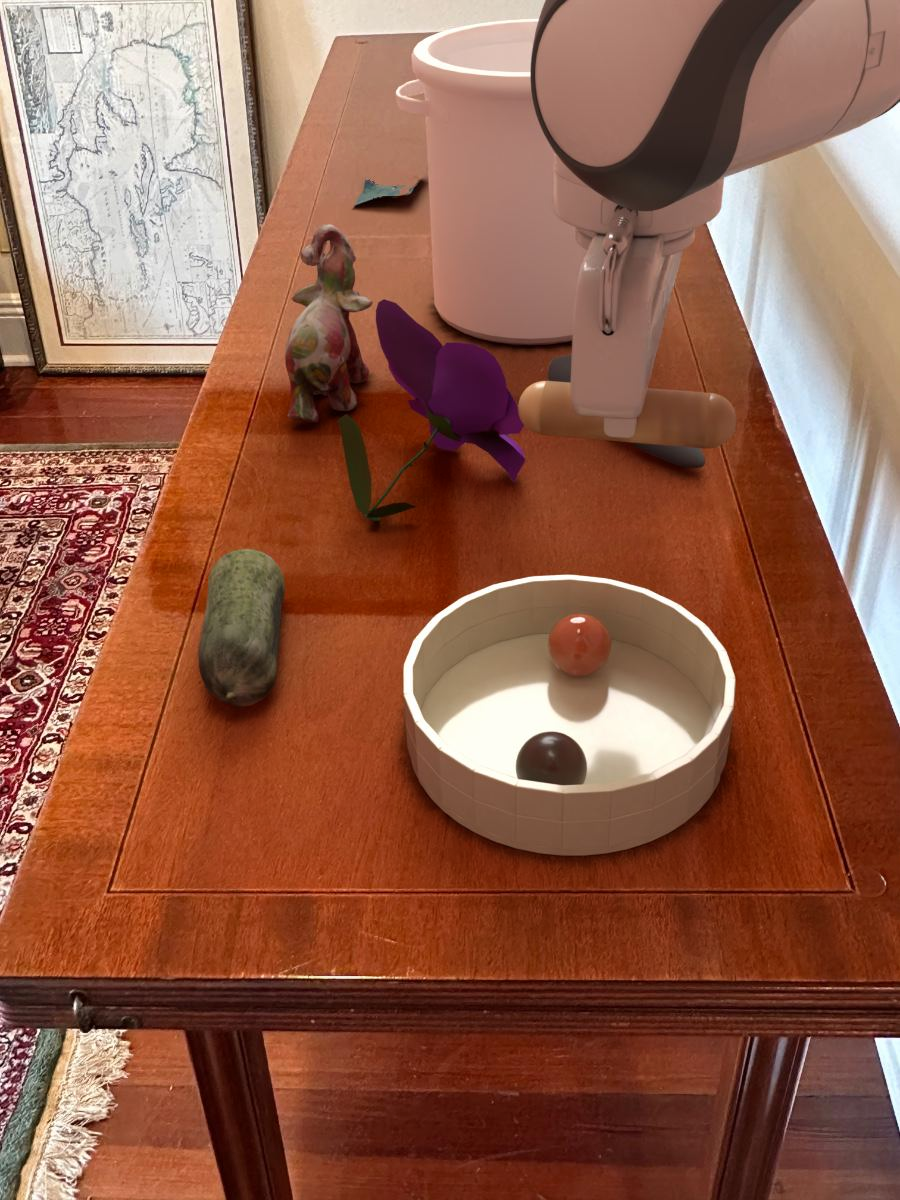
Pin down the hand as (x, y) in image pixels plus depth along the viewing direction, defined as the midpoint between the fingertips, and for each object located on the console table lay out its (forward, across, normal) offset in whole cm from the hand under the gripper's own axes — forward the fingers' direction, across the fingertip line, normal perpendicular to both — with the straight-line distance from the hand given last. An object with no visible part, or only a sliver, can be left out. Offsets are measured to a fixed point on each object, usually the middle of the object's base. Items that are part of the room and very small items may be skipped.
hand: (625, 412), depth 70 cm
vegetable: (+17, -7, +24) cm, 30 cm away
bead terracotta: (+14, -5, +2) cm, 15 cm away
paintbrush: (+17, +28, +3) cm, 33 cm away
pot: (+17, +52, +16) cm, 56 cm away
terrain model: (+16, +84, +40) cm, 94 cm away
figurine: (+17, +28, +30) cm, 45 cm away
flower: (+17, +14, +17) cm, 28 cm away
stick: (+2, 0, 0) cm, 2 cm away
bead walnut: (+14, -16, +2) cm, 21 cm away
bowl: (+17, -10, +2) cm, 20 cm away
